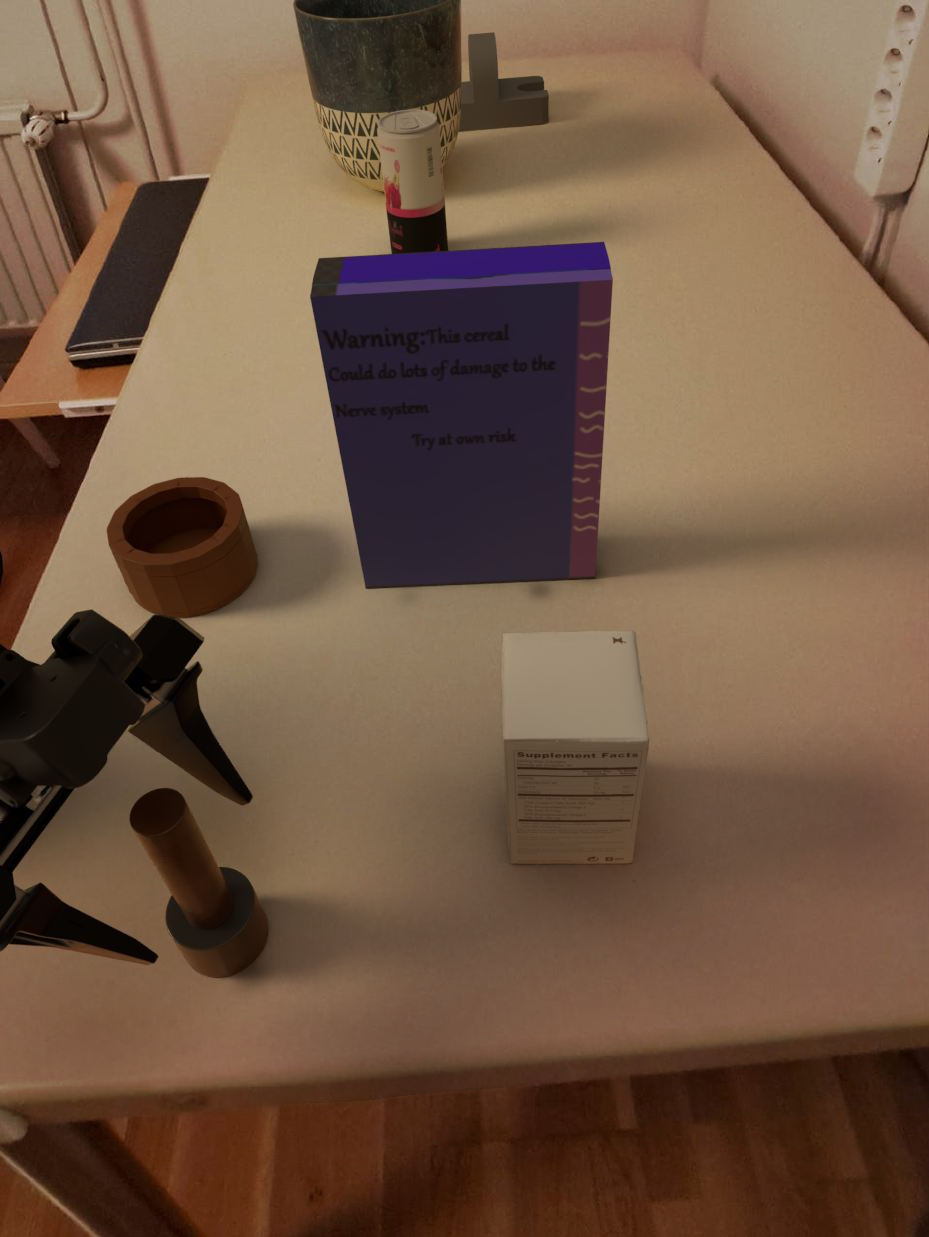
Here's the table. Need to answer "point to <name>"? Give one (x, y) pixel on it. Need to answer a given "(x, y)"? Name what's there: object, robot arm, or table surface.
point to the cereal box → (469, 409)
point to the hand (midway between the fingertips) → (204, 876)
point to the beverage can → (413, 181)
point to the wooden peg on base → (199, 889)
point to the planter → (380, 72)
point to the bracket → (498, 92)
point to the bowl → (183, 546)
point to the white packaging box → (572, 746)
